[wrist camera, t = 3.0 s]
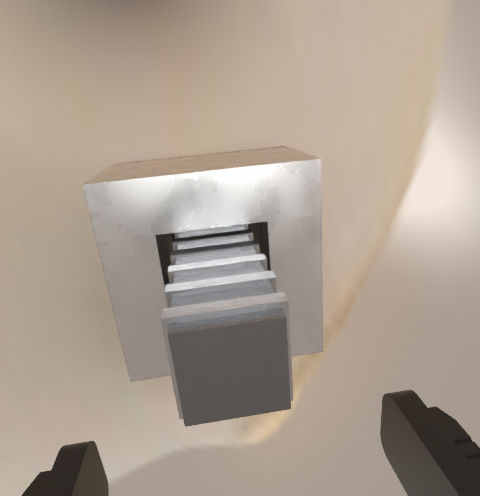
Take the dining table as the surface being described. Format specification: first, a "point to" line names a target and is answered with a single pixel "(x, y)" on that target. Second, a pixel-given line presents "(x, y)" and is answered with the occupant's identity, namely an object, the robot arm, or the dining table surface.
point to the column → (225, 327)
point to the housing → (204, 217)
